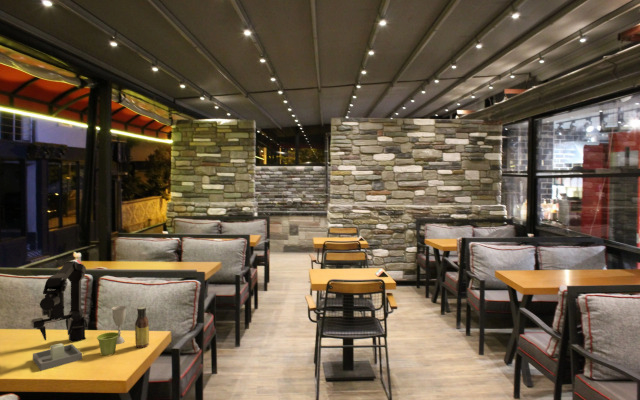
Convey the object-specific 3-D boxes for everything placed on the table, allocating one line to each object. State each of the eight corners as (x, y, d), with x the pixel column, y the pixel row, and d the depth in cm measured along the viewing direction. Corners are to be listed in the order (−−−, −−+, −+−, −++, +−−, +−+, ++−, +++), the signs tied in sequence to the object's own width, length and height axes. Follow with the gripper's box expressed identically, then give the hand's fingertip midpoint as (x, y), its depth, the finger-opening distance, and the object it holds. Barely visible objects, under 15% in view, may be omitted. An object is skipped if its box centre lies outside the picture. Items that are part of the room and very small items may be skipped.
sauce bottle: (138, 343, 203) (137, 305, 203) (150, 343, 204) (150, 305, 203) (133, 349, 197) (132, 309, 196) (146, 348, 197) (145, 309, 197)
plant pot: (123, 351, 194) (123, 333, 194) (105, 358, 185) (105, 340, 185) (110, 348, 198) (110, 331, 198) (92, 355, 189) (92, 337, 189)
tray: (72, 350, 195) (72, 344, 195) (82, 359, 184) (81, 353, 184) (32, 359, 184) (32, 353, 184) (40, 370, 173) (40, 364, 173)
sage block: (61, 355, 187) (61, 343, 187) (64, 358, 184) (64, 345, 184) (50, 358, 184) (50, 345, 184) (53, 361, 181) (52, 348, 181)
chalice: (130, 340, 208) (129, 306, 207) (119, 345, 201) (119, 310, 201) (119, 339, 210) (118, 305, 210) (108, 343, 204) (108, 308, 203)
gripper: (74, 297, 196) (74, 328, 196) (28, 304, 182) (28, 338, 182) (81, 301, 188) (81, 333, 188) (33, 309, 175) (34, 344, 175)
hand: (57, 337), depth 184 cm, fingers open, 9 cm apart
